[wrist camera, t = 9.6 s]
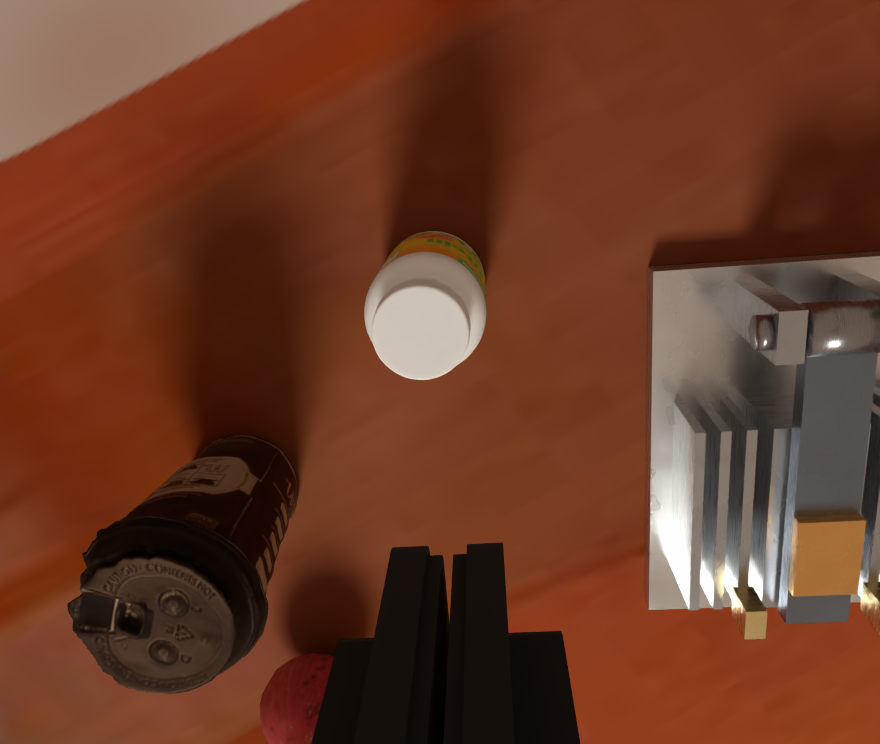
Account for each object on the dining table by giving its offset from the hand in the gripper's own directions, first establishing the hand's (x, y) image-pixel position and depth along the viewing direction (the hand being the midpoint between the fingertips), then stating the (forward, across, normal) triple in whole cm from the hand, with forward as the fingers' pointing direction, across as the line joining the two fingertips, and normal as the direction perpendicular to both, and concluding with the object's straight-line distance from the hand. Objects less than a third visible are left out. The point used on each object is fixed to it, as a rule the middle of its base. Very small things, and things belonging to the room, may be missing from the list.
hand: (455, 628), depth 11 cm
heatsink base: (+29, -16, +11) cm, 35 cm away
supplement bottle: (+29, +2, +1) cm, 29 cm away
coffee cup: (+29, +14, +12) cm, 35 cm away
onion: (+29, +11, +25) cm, 40 cm away
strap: (+24, -16, +10) cm, 31 cm away
